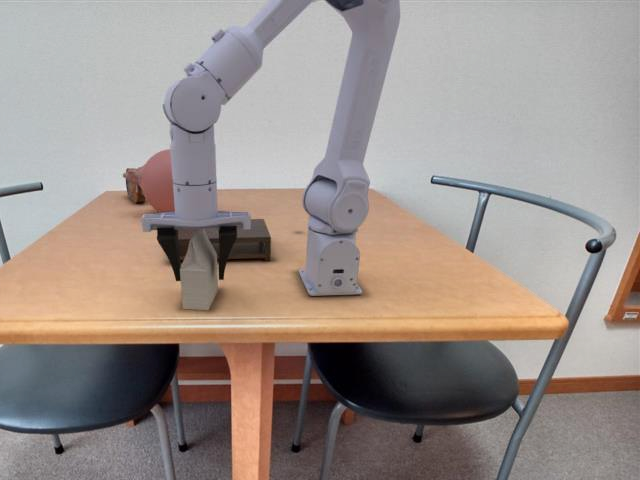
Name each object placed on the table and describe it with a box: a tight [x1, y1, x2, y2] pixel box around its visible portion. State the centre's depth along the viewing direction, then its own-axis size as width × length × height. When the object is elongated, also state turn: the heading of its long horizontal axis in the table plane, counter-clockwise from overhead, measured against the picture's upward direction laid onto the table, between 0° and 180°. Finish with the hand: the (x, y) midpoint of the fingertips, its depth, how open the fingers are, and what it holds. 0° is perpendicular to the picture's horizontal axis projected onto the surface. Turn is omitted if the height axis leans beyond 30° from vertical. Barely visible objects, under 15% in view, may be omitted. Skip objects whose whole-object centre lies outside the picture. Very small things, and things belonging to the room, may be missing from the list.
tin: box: [125, 167, 147, 204], centre depth 121 cm, size 15×3×8 cm, turn 25°
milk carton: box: [180, 229, 219, 311], centre depth 62 cm, size 4×7×10 cm, turn 171°
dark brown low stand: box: [178, 218, 272, 262], centre depth 82 cm, size 12×18×4 cm, turn 93°
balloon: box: [122, 148, 175, 213], centre depth 105 cm, size 15×20×15 cm
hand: (200, 277), depth 62 cm, fingers open, 5 cm apart
